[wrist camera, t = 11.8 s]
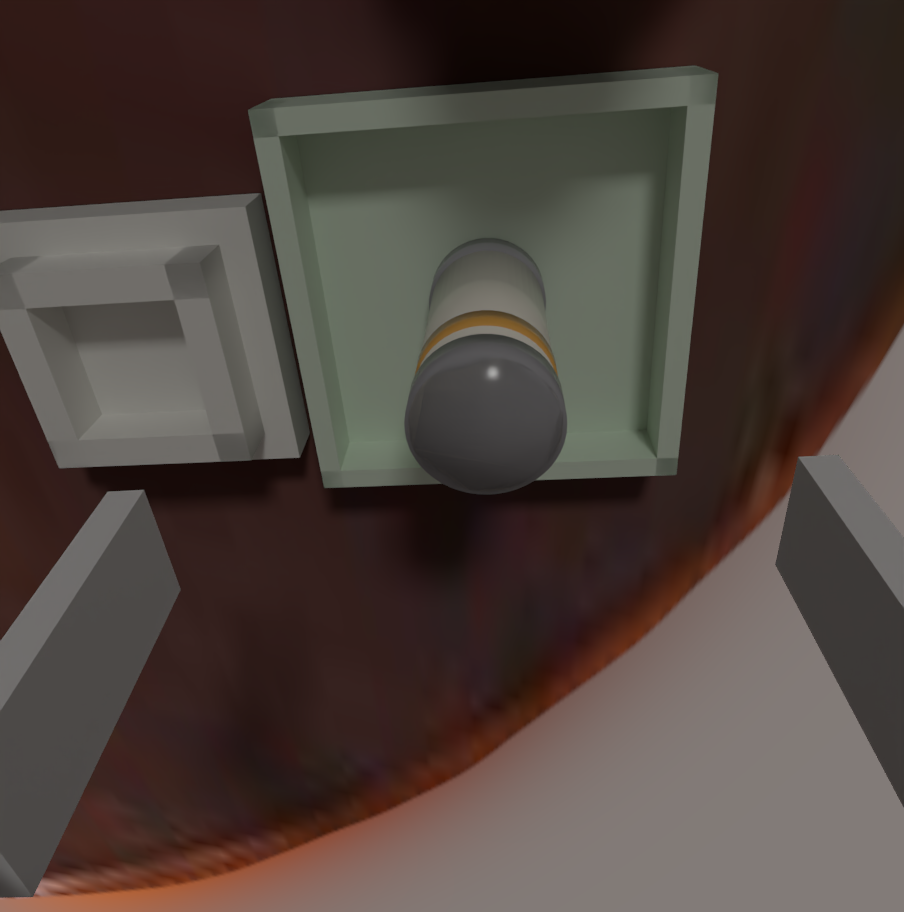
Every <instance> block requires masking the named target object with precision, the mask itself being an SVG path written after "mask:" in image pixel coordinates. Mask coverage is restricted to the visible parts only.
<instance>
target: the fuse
mask: <svg viewBox="0 0 904 912" xmlns="http://www.w3.org/2000/svg"><path fill="white" fill-rule="evenodd" d="M545 311H546V295H545V290H544V284H543V279H542V276H541V273H540V270H539V268H538V267H537V265H536V263H535V262H534V260H533V259H532V258H531V257H530V256H529V255H528V253H527V252H525V251H524V250H523V249H522V248H520V247H518V246H517V245H515V244H513V243H511V242H508V241H505V240H502V239H496V238H481V239H475V240H471V241H468V242H466V243H463V244H461V245H460V246H458V247H456V248H455V249H453V250H452V251H451V252H450V253H449V254H448V255H447V256H446V257H445V258H444V259H443V260H442V262H441V263H440V265H439V266H438V268H437V270H436V273H435V275H434V278H433V282H432V287H431V291H430V298H429V316H428V321H427V326H426V331H425V336H424V341H423V346H422V350H421V353H420V355H419V359H418V362H417V367H416V372H415V376H414V379H413V381H412V384H411V388H410V392H409V397H408V402H407V406H406V411H405V420H404V427H405V435H406V440H407V443H408V446H409V449H410V451H411V453H412V454H413V456H414V458H415V459H416V461H417V462H418V464H419V465H420V466H421V467H422V468H423V469H424V470H425V471H426V472H427V473H428V474H429V475H430V476H432V477H433V478H434V479H436V480H437V481H439V482H440V483H442V484H444V485H446V486H448V487H450V488H453V489H456V490H459V491H463V492H467V493H472V494H487V495H490V494H500V493H505V492H510V491H513V490H516V489H519V488H521V487H524V486H526V485H528V484H530V483H531V482H533V481H535V480H536V479H538V478H539V477H540V476H541V475H543V474H544V473H545V472H546V471H547V470H548V469H549V468H550V467H551V466H552V464H553V463H554V462H555V461H556V459H557V457H558V456H559V454H560V452H561V450H562V448H563V445H564V443H565V438H566V434H567V414H566V408H565V402H564V397H563V392H562V387H561V383H560V381H559V378H558V373H557V367H556V362H555V358H554V355H553V352H552V348H551V342H550V336H549V330H548V324H547V318H546V313H545Z"/></svg>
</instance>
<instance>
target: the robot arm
mask: <svg viewBox="0 0 904 912" xmlns="http://www.w3.org/2000/svg"><path fill="white" fill-rule="evenodd" d="M776 567H777V568H778V570H779V572H780V574H781V576H782V578H783V580H784V582H785V584H786V586H787V587H788V589H789V591H790V593H791V595H792V597H793V599H794V600H795V602H796V604H797V606H798V608H799V610H800V612H801V614H802V616H803V618H804V619H805V621H806V623H807V625H808V627H809V629H810V631H811V633H812V635H813V636H814V639H815V640H816V642H817V644H818V646H819V648H820V650H821V652H822V654H823V655H824V657H825V659H826V661H827V663H828V665H829V667H830V669H831V671H832V672H833V674H834V676H835V678H836V680H837V682H838V684H839V686H840V687H841V690H842V691H843V693H844V695H845V697H846V699H847V701H848V703H849V705H850V707H851V708H852V710H853V712H854V714H855V716H856V718H857V720H858V722H859V724H860V726H861V727H862V729H863V731H864V733H865V735H866V737H867V739H868V741H869V742H870V744H871V746H872V748H873V750H874V752H875V754H876V756H877V758H878V760H879V762H880V763H881V765H882V767H883V769H884V771H885V773H886V775H887V777H888V779H889V780H890V782H891V784H892V786H893V788H894V790H895V792H896V794H897V796H898V797H899V799H900V801H901V803H902V805H903V807H904V537H903V536H902V535H901V534H900V532H899V531H898V530H897V529H896V527H895V526H894V525H893V523H892V522H891V521H890V520H889V518H888V517H887V516H886V514H885V513H884V512H883V511H882V509H881V508H880V507H879V506H878V504H877V503H876V502H875V501H874V499H873V498H872V497H871V495H870V494H869V493H868V492H867V490H866V489H865V488H864V487H863V485H862V484H861V483H860V481H859V480H858V479H857V478H856V477H855V475H854V474H853V473H852V471H851V470H850V469H849V468H848V466H847V465H846V464H845V462H844V461H843V460H842V459H841V457H840V456H839V455H828V456H807V457H798V461H797V465H796V470H795V475H794V479H793V484H792V489H791V494H790V498H789V503H788V508H787V512H786V517H785V522H784V527H783V531H782V536H781V541H780V546H779V550H778V555H777V560H776ZM180 590H181V589H180V587H179V584H178V581H177V579H176V576H175V573H174V570H173V568H172V565H171V562H170V559H169V557H168V554H167V551H166V549H165V546H164V543H163V540H162V538H161V535H160V532H159V529H158V527H157V524H156V521H155V519H154V516H153V513H152V510H151V508H150V505H149V502H148V499H147V497H146V494H145V491H144V490H130V491H110V492H107V493H106V495H105V496H104V498H103V499H102V500H101V502H100V503H99V505H98V506H97V507H96V509H95V510H94V512H93V513H92V514H91V516H90V517H89V519H88V520H87V521H86V523H85V524H84V525H83V527H82V528H81V530H80V531H79V532H78V534H77V535H76V537H75V538H74V539H73V541H72V542H71V544H70V545H69V546H68V548H67V549H66V551H65V552H64V553H63V555H62V556H61V558H60V559H59V560H58V562H57V563H56V564H55V566H54V567H53V569H52V570H51V571H50V573H49V574H48V576H47V577H46V578H45V580H44V581H43V583H42V584H41V585H40V587H39V588H38V590H37V591H36V592H35V594H34V595H33V596H32V598H31V599H30V601H29V602H28V603H27V605H26V606H25V608H24V609H23V610H22V612H21V613H20V615H19V616H18V617H17V619H16V620H15V622H14V623H13V624H12V626H11V627H10V628H9V630H8V631H7V633H6V634H5V635H4V637H3V638H2V640H1V641H0V897H33V895H34V893H35V891H36V889H37V887H38V885H39V883H40V881H41V879H42V877H43V875H44V873H45V870H46V868H47V866H48V864H49V862H50V860H51V858H52V856H53V854H54V852H55V850H56V848H57V846H58V843H59V841H60V839H61V837H62V835H63V833H64V831H65V829H66V827H67V825H68V823H69V821H70V818H71V816H72V814H73V812H74V810H75V808H76V806H77V804H78V802H79V800H80V798H81V796H82V794H83V791H84V789H85V787H86V785H87V783H88V781H89V779H90V777H91V775H92V773H93V771H94V769H95V766H96V764H97V762H98V760H99V758H100V756H101V754H102V752H103V750H104V748H105V746H106V744H107V742H108V739H109V737H110V735H111V733H112V731H113V729H114V727H115V725H116V723H117V721H118V719H119V717H120V715H121V712H122V710H123V708H124V706H125V704H126V702H127V700H128V698H129V696H130V694H131V692H132V690H133V687H134V685H135V683H136V681H137V679H138V677H139V675H140V673H141V671H142V669H143V667H144V665H145V663H146V660H147V658H148V656H149V654H150V652H151V650H152V648H153V646H154V644H155V642H156V640H157V638H158V635H159V633H160V631H161V629H162V627H163V625H164V623H165V621H166V619H167V617H168V615H169V613H170V611H171V608H172V606H173V604H174V602H175V600H176V598H177V596H178V594H179V592H180Z"/></svg>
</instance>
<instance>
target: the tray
mask: <svg viewBox="0 0 904 912" xmlns="http://www.w3.org/2000/svg"><path fill="white" fill-rule="evenodd" d="M717 82H718V73H716V72H713V71H710V70H707V69H704V68H701V67H698V66H683V67H670V68H657V69H645V70H632V71H619V72H607V73H594V74H581V75H568V76H556V77H543V78H530V79H518V80H505V81H492V82H480V83H467V84H454V85H441V86H429V87H416V88H403V89H391V90H378V91H365V92H352V93H340V94H327V95H314V96H302V97H289V98H276V99H270V100H268V101H266V102H264V103H261V104H259V105H257V106H255V107H253V108H251V109H249V110H248V113H249V118H250V123H251V128H252V133H253V138H254V143H255V148H256V153H257V158H258V163H259V168H260V173H261V178H262V182H263V187H264V192H265V197H266V202H267V207H268V212H269V217H270V222H271V227H272V232H273V237H274V242H275V247H276V252H277V257H278V262H279V267H280V272H281V277H282V281H283V286H284V291H285V296H286V301H287V306H288V311H289V316H290V321H291V326H292V331H293V336H294V341H295V346H296V351H297V356H298V361H299V366H300V371H301V376H302V380H303V385H304V390H305V395H306V400H307V405H308V410H309V415H310V420H311V425H312V430H313V435H314V440H315V445H316V450H317V455H318V460H319V465H320V470H321V475H322V479H323V484H324V488H340V487H366V486H393V485H420V484H442V483H440V482H439V481H437V480H436V479H434V478H433V477H432V476H430V475H429V474H428V473H427V472H426V471H425V470H424V469H423V468H422V467H421V466H420V465H419V464H418V462H417V461H416V459H415V458H414V456H413V454H412V453H411V451H410V449H409V446H408V443H407V440H406V435H405V427H404V420H405V411H406V406H407V402H408V397H409V392H410V388H411V384H412V381H413V379H414V376H415V372H416V367H417V362H418V359H419V355H420V353H421V350H422V346H423V341H424V336H425V331H426V326H427V321H428V316H429V298H430V291H431V287H432V282H433V278H434V275H435V273H436V270H437V268H438V266H439V265H440V263H441V262H442V260H443V259H444V258H445V257H446V256H447V255H448V254H449V253H450V252H451V251H452V250H453V249H455V248H456V247H458V246H460V245H461V244H463V243H466V242H468V241H471V240H475V239H481V238H496V239H502V240H505V241H508V242H511V243H513V244H515V245H517V246H518V247H520V248H522V249H523V250H524V251H525V252H527V253H528V255H529V256H530V257H531V258H532V259H533V260H534V262H535V263H536V265H537V267H538V268H539V270H540V273H541V276H542V279H543V284H544V290H545V295H546V311H545V313H546V318H547V324H548V330H549V336H550V342H551V348H552V352H553V355H554V358H555V362H556V367H557V373H558V378H559V381H560V383H561V387H562V392H563V397H564V402H565V408H566V414H567V434H566V438H565V443H564V445H563V448H562V450H561V452H560V454H559V456H558V457H557V459H556V461H555V462H554V463H553V464H552V466H551V467H550V468H549V469H548V470H547V471H546V472H545V473H544V474H543V475H541V476H540V477H539V478H538V479H536V480H554V479H580V478H607V477H634V476H661V475H676V473H677V463H678V454H679V444H680V435H681V425H682V416H683V406H684V397H685V387H686V377H687V368H688V358H689V349H690V339H691V330H692V320H693V311H694V301H695V292H696V282H697V273H698V263H699V253H700V244H701V234H702V225H703V215H704V206H705V196H706V187H707V177H708V168H709V158H710V148H711V139H712V129H713V120H714V110H715V101H716V91H717Z"/></svg>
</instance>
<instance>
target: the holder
mask: <svg viewBox="0 0 904 912" xmlns="http://www.w3.org/2000/svg"><path fill="white" fill-rule="evenodd" d="M0 331H1V333H2V335H3V338H4V340H5V342H6V345H7V347H8V349H9V352H10V354H11V356H12V359H13V361H14V363H15V366H16V368H17V371H18V373H19V375H20V378H21V380H22V382H23V385H24V387H25V389H26V392H27V394H28V396H29V399H30V401H31V403H32V406H33V408H34V410H35V413H36V415H37V417H38V420H39V422H40V424H41V427H42V429H43V431H44V434H45V436H46V439H47V441H48V443H49V446H50V448H51V450H52V453H53V455H54V457H55V460H56V462H57V464H58V467H59V468H76V467H101V466H126V465H150V464H175V463H200V462H224V461H249V460H255V459H280V458H300V456H301V454H302V451H303V449H304V446H305V444H306V441H307V439H308V436H309V434H310V431H309V426H308V421H307V416H306V411H305V406H304V401H303V397H302V392H301V387H300V382H299V377H298V372H297V367H296V362H295V358H294V353H293V348H292V343H291V338H290V333H289V328H288V323H287V318H286V314H285V309H284V304H283V299H282V294H281V289H280V284H279V279H278V274H277V270H276V265H275V260H274V255H273V250H272V245H271V240H270V235H269V230H268V226H267V221H266V216H265V211H264V206H263V201H262V196H261V193H255V194H240V195H226V196H211V197H197V198H182V199H168V200H153V201H138V202H124V203H109V204H95V205H80V206H66V207H51V208H37V209H22V210H8V211H0Z"/></svg>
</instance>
